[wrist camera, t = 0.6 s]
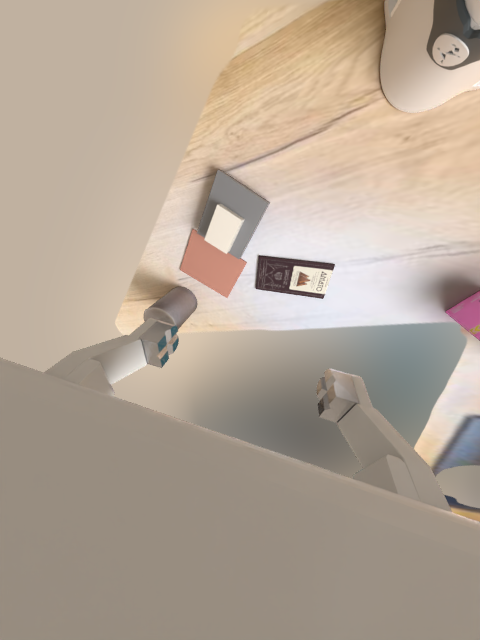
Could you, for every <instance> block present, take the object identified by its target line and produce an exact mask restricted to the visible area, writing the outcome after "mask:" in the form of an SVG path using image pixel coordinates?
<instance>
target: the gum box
mask: <svg viewBox="0 0 480 640" xmlns="http://www.w3.org/2000/svg"><path fill="white" fill-rule="evenodd" d="M446 313H447V314H448V315H449V316H450V317H452V318H453V319H454V320H455V321H457V322H458V323H459V324H460V325H461V326H463V327H464V328H465V329H466V330H467V331H469V332H470V333H471V334H472V335H474V336H475V337H476V338H477V339H478V340H480V291H478V292H477V293H475V294H474V295H472V296H470V297H468V298H467V299H465V300H463V301H462V302H460V303H458V304H457V305H455V306H454V307H452V308H450V309H449V310H447V311H446Z"/></svg>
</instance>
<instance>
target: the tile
mask: <svg viewBox="0 0 480 640" xmlns="http://www.w3.org/2000/svg"><path fill="white" fill-rule="evenodd" d="M244 220H245V219H244V218H242V217H241V216H239V215H237V214H236V213H234V212H233V211H231V210H230V209H228V208H227V207H225V206H224V205H222V204H217V206H216V209H215V212H214V215H213V217H212V220H211V223H210V226H209V228H208V231H207V234H206V236H205V239H204V240H205V241H206V242H208V243H210V244H211V245H213V246H214V247H216V248H218V249H219V250H221V251H223V252H224V253H226V254H227V253H228V252H229V251H230V249H231V247H232V245H233V243H234V241H235V239H236V236H237V234H238V232H239V230H240V228H241V226H242V224H243V222H244Z"/></svg>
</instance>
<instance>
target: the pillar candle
mask: <svg viewBox="0 0 480 640" xmlns="http://www.w3.org/2000/svg"><path fill="white" fill-rule="evenodd" d="M196 307H197V299H196V297H195V295H194V294H193V293H192V292H191V291H190V290H189V289H187V288H184V287H176V288H174V289H172V290H171V291H170V292H168V293H167V294H166V295H165V296H163V297H162V298H161V299H159V300H158V301H157V302H156V303H154V304H153V305H152V306H150V307H149V308H148V309H146V310H145V311H144V321H146V320H148V319H150V318H153V319H156V320H160V321H163V322H166V323H170V324H173V325H176V326H177V328H178V329H179V328H180V327H181V325H182V324H183V323H184V322H185V321H186V320H187V319H188V317H189V316H190V315H191V314H192V313H193V312H194V311H195V309H196Z"/></svg>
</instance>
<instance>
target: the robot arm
mask: <svg viewBox="0 0 480 640" xmlns="http://www.w3.org/2000/svg"><path fill="white" fill-rule="evenodd" d="M384 11H385V21H386V33H385V39H384V44H383V49H382V55H381V63H380V78H381V85H382V89H383V92H384V94H385V96H386V98H387V100H388V101H389V102H390V103H391V105H393V106H394V107H395V108H397V109H399V110H401V111H404V112H410V113H416V112H423V111H427V110H430V109H433V108H435V107H437V106H439V105H441V104H443V103H445V102H447V101H448V100H450V99H452V98H453V97H455V96H457V95H459V94H461V93H463V92H466V91H472V90H477V89H480V0H385V2H384ZM177 332H178V328H177V326H176V325H173V324H170V323H166V322H163V321H160V320H156V319H153V318H150V319H148V320H146V321H145V322H144V323H143V324H142V325H141V326H140V327H138V328H137V329H136V330H135V331H134V332H133V333H131V334H130V335H129V336H128V335H124V336H121V337H118V338H115V339H112V340H109V341H106V342H102V343H99V344H96V345H93V346H90V347H87V348H84V349H80V350H78V351H74V352H72V353H71V354H69V355H68V356H66V357H65V358H64V359H62V360H61V361H60V362H58V363H57V364H55V365H54V366H52V367H51V368H50V369H48V370H47V371H45V372H44V373H43V372H40V371H37V370H34V369H31V368H29V367H26V366H23V365H20V364H17V363H14V362H11V361H8V360H5V359H3V358H0V640H480V522H478V521H475V520H472V519H469V518H467V517H464V516H461V515H458V514H455V513H452V511H451V509H450V507H449V505H448V503H447V501H446V498H445V496H444V494H443V493H442V490H441V488H440V486H439V484H438V482H437V480H436V478H435V476H434V474H433V472H432V470H431V468H430V466H429V465H428V464H427V463H426V462H425V461H424V460H423V459H422V458H421V457H420V456H419V454H418V453H417V452H416V451H415V450H414V449H413V448H412V447H411V446H410V445H409V444H408V443H407V442H406V440H404V438H403V437H402V436H401V435H400V434H399V433H398V432H397V431H396V430H395V429H394V428H393V426H392V425H391V424H390V423H389V422H388V421H387V420H386V419H385V418H384V417H383V416H382V415H381V414H380V413H379V411H378V410H377V409H374V408H373V407H372V404H371V401H370V398H369V396H368V393H367V390H366V387H365V385H364V382H363V379H362V378H361V377H359V376H356V375H352V374H348V373H345V372H341V371H337V370H334V369H330V368H328V369H326V371H325V372H324V375H325V377H322V378H320V380H319V381H318V384H317V390H316V393H317V397H318V398H319V400H320V401H319V403H318V413H319V417H321V418H324V419H326V420H329V421H332V422H335V423H337V425H338V427H339V429H340V431H341V432H342V434H343V436H344V437H345V439H346V441H347V442H348V444H349V446H350V447H351V449H352V451H353V453H354V454H355V455H356V458H357V459H358V461H359V462H360V464H361V466H362V468H363V469H362V470H360V471H358V472H357V473H355V474H354V475H353V478H350V477H347V476H344V475H340V474H338V473H335V472H332V471H329V470H326V469H323V468H321V467H317V466H315V465H312V464H309V463H306V462H303V461H300V460H297V459H294V458H291V457H288V456H285V455H283V454H280V453H277V452H274V451H271V450H268V449H265V448H262V447H259V446H256V445H253V444H250V443H248V442H245V441H242V440H239V439H236V438H233V437H230V436H227V435H224V434H222V433H219V432H215V431H213V430H210V429H207V428H204V427H201V426H198V425H195V424H192V423H189V422H187V421H184V420H181V419H178V418H175V417H172V416H169V415H166V414H163V413H160V412H157V411H154V410H151V409H149V408H146V407H143V406H140V405H137V404H134V403H131V402H128V401H125V400H122V399H119V398H116V397H114V390H113V388H112V386H111V384H113V383H115V382H117V381H119V380H120V379H122V378H124V377H126V376H128V375H129V374H131V373H133V372H135V371H137V370H138V369H140V368H142V367H144V366H145V365H147V364H150V365H153V366H157V367H161V368H162V367H163V366H164V364H165V363H166V362H167V360H168V359H169V356H168V355H170V354H172V353H173V352H174V351H175V350H176V348H177V346H178V341H179V339H178V336H177V335H176V333H177Z"/></svg>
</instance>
